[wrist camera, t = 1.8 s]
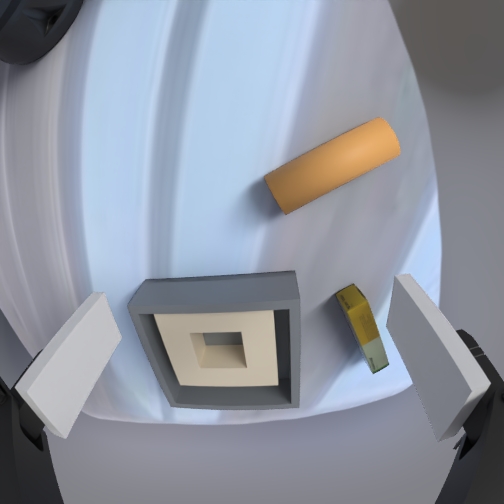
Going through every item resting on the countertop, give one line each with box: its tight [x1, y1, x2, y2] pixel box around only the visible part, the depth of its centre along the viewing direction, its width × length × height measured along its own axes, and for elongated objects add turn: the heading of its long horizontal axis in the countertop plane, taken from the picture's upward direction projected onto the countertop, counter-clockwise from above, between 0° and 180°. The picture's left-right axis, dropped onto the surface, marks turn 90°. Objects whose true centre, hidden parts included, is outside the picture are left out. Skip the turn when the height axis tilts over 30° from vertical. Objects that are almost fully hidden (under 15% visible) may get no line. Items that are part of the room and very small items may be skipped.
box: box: [127, 271, 301, 410], centre depth 32 cm, size 17×17×6 cm
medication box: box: [336, 284, 389, 374], centre depth 31 cm, size 12×3×4 cm, turn 29°
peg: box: [264, 117, 400, 215], centre depth 24 cm, size 4×4×12 cm
